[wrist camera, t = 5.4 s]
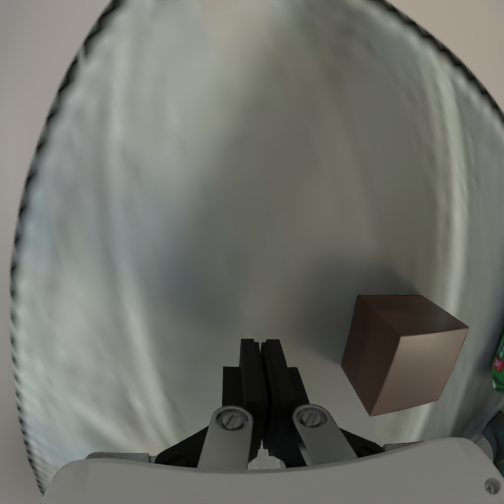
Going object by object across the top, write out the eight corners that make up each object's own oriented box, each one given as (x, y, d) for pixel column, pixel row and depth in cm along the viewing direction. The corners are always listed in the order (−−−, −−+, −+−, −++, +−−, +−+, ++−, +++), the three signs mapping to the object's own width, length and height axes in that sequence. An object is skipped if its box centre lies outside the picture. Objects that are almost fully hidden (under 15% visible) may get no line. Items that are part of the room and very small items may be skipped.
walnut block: (340, 366, 17) (369, 417, 12) (357, 294, 16) (400, 335, 11) (402, 359, 17) (438, 400, 12) (421, 294, 16) (469, 326, 11)
